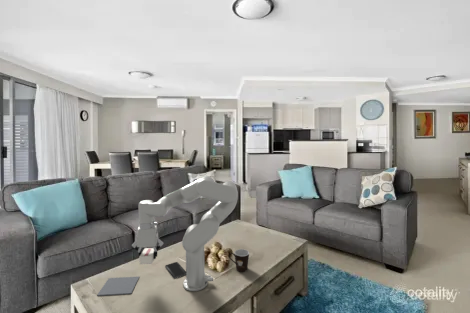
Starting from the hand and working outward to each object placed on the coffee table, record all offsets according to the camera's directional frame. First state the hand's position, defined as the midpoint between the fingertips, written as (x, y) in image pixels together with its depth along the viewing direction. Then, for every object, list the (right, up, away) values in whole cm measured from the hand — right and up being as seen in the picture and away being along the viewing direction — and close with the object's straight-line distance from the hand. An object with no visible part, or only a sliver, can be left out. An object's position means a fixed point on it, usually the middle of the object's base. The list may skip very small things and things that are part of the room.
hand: (148, 257), depth 128 cm
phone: (+11, -14, +15) cm, 23 cm away
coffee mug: (+48, -13, +17) cm, 52 cm away
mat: (-15, -15, 0) cm, 21 cm away
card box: (0, -1, 0) cm, 1 cm away
